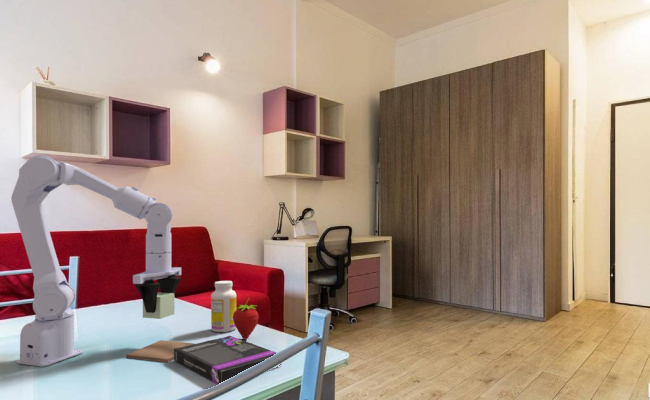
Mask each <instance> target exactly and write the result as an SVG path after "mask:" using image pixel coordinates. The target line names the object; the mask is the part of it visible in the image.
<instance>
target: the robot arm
mask: <svg viewBox="0 0 650 400" xmlns="http://www.w3.org/2000/svg"><path fill="white" fill-rule="evenodd" d="M62 185H66V186H74V185H75V186H78V185H79V186H81V187H84V188H85V189H87V190H90V191H92V192H95V193H97V194H99V195H100V196H103V197H105V198H108V199H110V200H111V201H112V204H113V206H114V208H115V209H117V210H119V211H121V212H124V213H126V214H128V215H130V216H132V217H134V218H136V219H139V220H142V219H144V220H145V222H147V224H146V228H147V229H146V234H145V271H143V272H140V273H136V274H132V284H133V285H134V284H135V288H136V289H137V291H138V293H139V295H140V297H141V299H142V304H143V303H144V306H145V310H146V312H148V313H154V312H155V310H156V300H157V293H158V292H159V291H160V292H159V293H174V294H175V293H176V290H177V288H178V286H179V284H180V282H181V276H182V267H177V266H175V267H174V266H173V267H172V232H171V230H172V226H171V221H172V218H173V214H172V210H171V208H170V206H168V205H167V204H165V203H163V202H157V200H158V198H157V197H155V196H153V197H151V196H149V195H146V194H144V193H142V192H140V191H139V188H138V187H136V186H134V185H133V186H132V187H130V186H128V185H126V186H123V187H117V186H115V185H113V184H111V183H109V182H108V181H105V179H104V180H103V179H101V178H100V177H98V176H97V175H94V174H92V173H91V172H88V171H86V170H84V169H83V168H81V167H79V166H77V165H73V164H70V163H67V162H64V161H61V160H55V159H54V158H52V157H50V156H48V155H43V154H39V155H34V156H32V157H30V158H29V159H28V160H27V161H25V163H24V164H22V165H21V167H19V169H18V178H17V180H16V183H15V186H14V189H13V191H12V194H11V200H10V201H11V203H12V204H11V205H12V207H13V211H14V214H15V217H16V221H17V224H18V227H19V230H20V234H21V237H22V241H23V244H24V248H25V251H26V255H27V258H28V261H29V265H30V268H31V271H32V275H33V277H34V278H33V285H32V290H33V293H34V297H33V302H32V310H33V312H34V314H36V315H35V316H34V318H35V319H34V320H33V321H31V322H27V323H26V324H25V325H24V326H23V327H22V329H21V331H20V335H19V336H20V337H19V338H20V339H19V360H16V363H17V364H21V365H28V366H34V367H43V368H44V367H48V366H50V365H53V364H56V363H58V362H59V363H60V362H62V361H64V360H67V359H69V358H70V359H71V358H73V357H76V356H77V355H80V354H83V353H84V351H83V350H81V349H74V346H75V345H74V343H75V342H74V341H75V339H74V338H75V336H74V335H75V327H74V326H75V324H74V323H75V311H74V310H73V309H72V308H71V306H72V305H73V304H74V301H75V299H76V291H75V289H74V288H73V287H72V286H71V285H70V284H69V283H68V280H67V278H66V276H65V274H64V272H63V271H62V270H61V267H60V264H59V263H60V262H59V259H58V257H57V254H56V249H55V247H54V242H53V240H52V239H53V238H52V236H51V232H50V229H49V226H48V222H47V219H46V216H45V212H44V209H43V205H42V202H43V201H44V200H45V199H46V198H47V197H48V195H49V194H50V193H51V192H52V191H53V190H55V189H57V188H59V187H60V186H62ZM155 281H157V282H155Z"/></svg>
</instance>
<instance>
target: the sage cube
mask: <svg viewBox="0 0 650 400" xmlns="http://www.w3.org/2000/svg"><path fill="white" fill-rule="evenodd" d="M172 315H175V293H161V292H159V291H158V293H157V300H156V310H155V312H154V313H148V312H146V310H145V306H144V303H143V302H142V318H143V319H144V318H145V319H154V320H155V319H157V320H162V319H165V318H167V317H169V316H172Z"/></svg>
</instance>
